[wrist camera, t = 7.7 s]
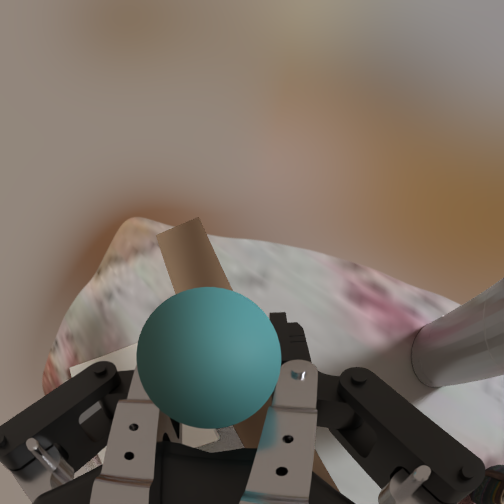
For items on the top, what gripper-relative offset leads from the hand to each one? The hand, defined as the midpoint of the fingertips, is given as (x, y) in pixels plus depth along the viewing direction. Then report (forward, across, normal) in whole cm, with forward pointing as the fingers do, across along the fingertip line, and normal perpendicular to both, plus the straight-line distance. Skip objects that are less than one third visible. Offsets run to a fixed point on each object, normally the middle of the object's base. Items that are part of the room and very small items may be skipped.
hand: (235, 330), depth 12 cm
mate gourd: (-4, -35, +33) cm, 48 cm away
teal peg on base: (+3, 0, +6) cm, 7 cm away
